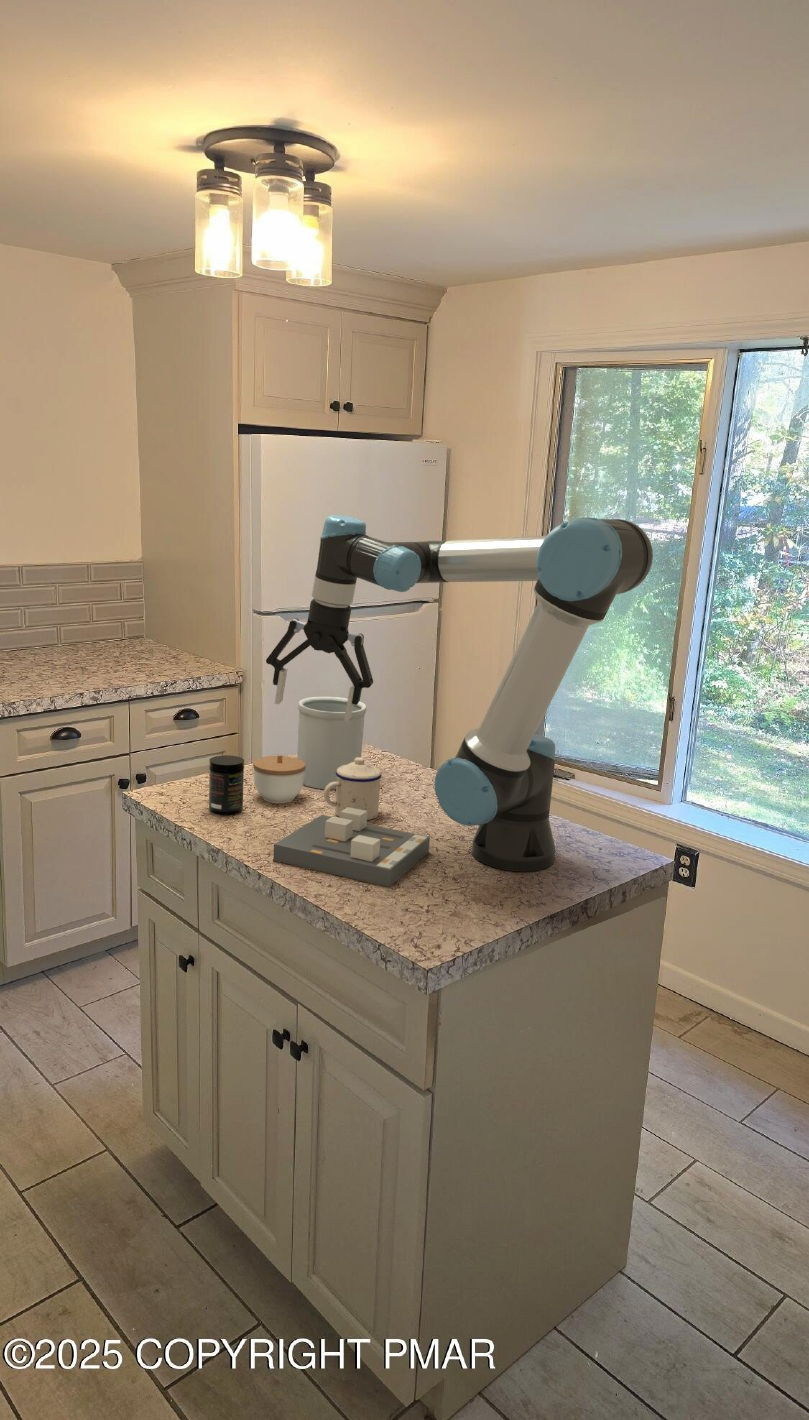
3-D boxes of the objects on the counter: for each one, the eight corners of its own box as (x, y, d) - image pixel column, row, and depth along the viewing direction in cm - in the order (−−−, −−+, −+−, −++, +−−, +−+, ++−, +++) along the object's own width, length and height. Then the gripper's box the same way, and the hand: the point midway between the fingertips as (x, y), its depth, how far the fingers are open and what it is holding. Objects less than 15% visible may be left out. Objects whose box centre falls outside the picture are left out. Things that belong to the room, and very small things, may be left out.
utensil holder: (371, 776, 221) (375, 701, 217) (348, 795, 207) (352, 714, 203) (311, 767, 225) (314, 693, 221) (284, 784, 211) (287, 706, 207)
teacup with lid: (365, 804, 202) (368, 750, 199) (387, 818, 194) (391, 762, 192) (313, 811, 195) (315, 755, 193) (334, 826, 188) (336, 768, 185)
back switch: (366, 826, 180) (367, 811, 179) (359, 831, 177) (360, 815, 177) (347, 822, 181) (347, 807, 181) (339, 827, 179) (340, 811, 178)
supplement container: (249, 808, 195) (250, 758, 192) (232, 818, 189) (233, 767, 186) (219, 803, 197) (220, 753, 195) (201, 812, 191) (202, 761, 189)
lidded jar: (242, 795, 202) (243, 752, 200) (286, 787, 209) (287, 745, 207) (270, 810, 195) (271, 765, 192) (314, 802, 201) (316, 758, 199)
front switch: (379, 856, 166) (380, 839, 166) (371, 861, 163) (372, 844, 163) (358, 851, 168) (358, 834, 167) (350, 857, 165) (351, 840, 164)
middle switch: (352, 836, 175) (353, 820, 174) (344, 841, 172) (345, 825, 171) (332, 832, 176) (333, 816, 175) (324, 837, 173) (325, 821, 173)
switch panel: (428, 852, 178) (429, 836, 177) (389, 887, 161) (390, 869, 161) (321, 829, 186) (322, 814, 185) (273, 860, 169) (273, 843, 169)
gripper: (401, 613, 180) (380, 720, 186) (272, 583, 182) (256, 689, 189) (394, 621, 173) (372, 732, 179) (260, 590, 175) (243, 700, 182)
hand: (312, 710), depth 184 cm, fingers open, 13 cm apart
